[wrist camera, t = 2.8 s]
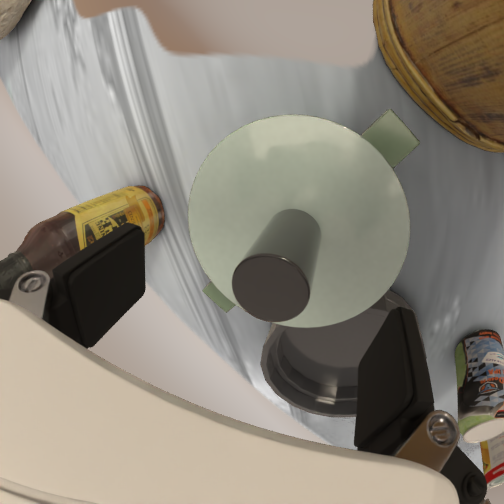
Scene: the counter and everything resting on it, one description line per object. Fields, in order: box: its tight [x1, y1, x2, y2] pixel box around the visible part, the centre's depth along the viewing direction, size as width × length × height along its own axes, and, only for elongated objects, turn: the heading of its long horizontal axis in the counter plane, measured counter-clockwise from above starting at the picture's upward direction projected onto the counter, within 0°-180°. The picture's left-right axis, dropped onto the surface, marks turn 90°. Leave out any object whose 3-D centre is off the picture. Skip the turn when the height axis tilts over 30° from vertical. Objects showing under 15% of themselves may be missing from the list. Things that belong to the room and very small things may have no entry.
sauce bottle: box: [0, 186, 165, 289], centre depth 20 cm, size 7×6×20 cm
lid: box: [188, 115, 410, 328], centre depth 13 cm, size 13×13×7 cm
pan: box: [261, 289, 426, 417], centre depth 26 cm, size 16×16×4 cm
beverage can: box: [455, 329, 504, 443], centre depth 19 cm, size 6×7×12 cm
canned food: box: [480, 432, 504, 489], centre depth 22 cm, size 8×8×12 cm
